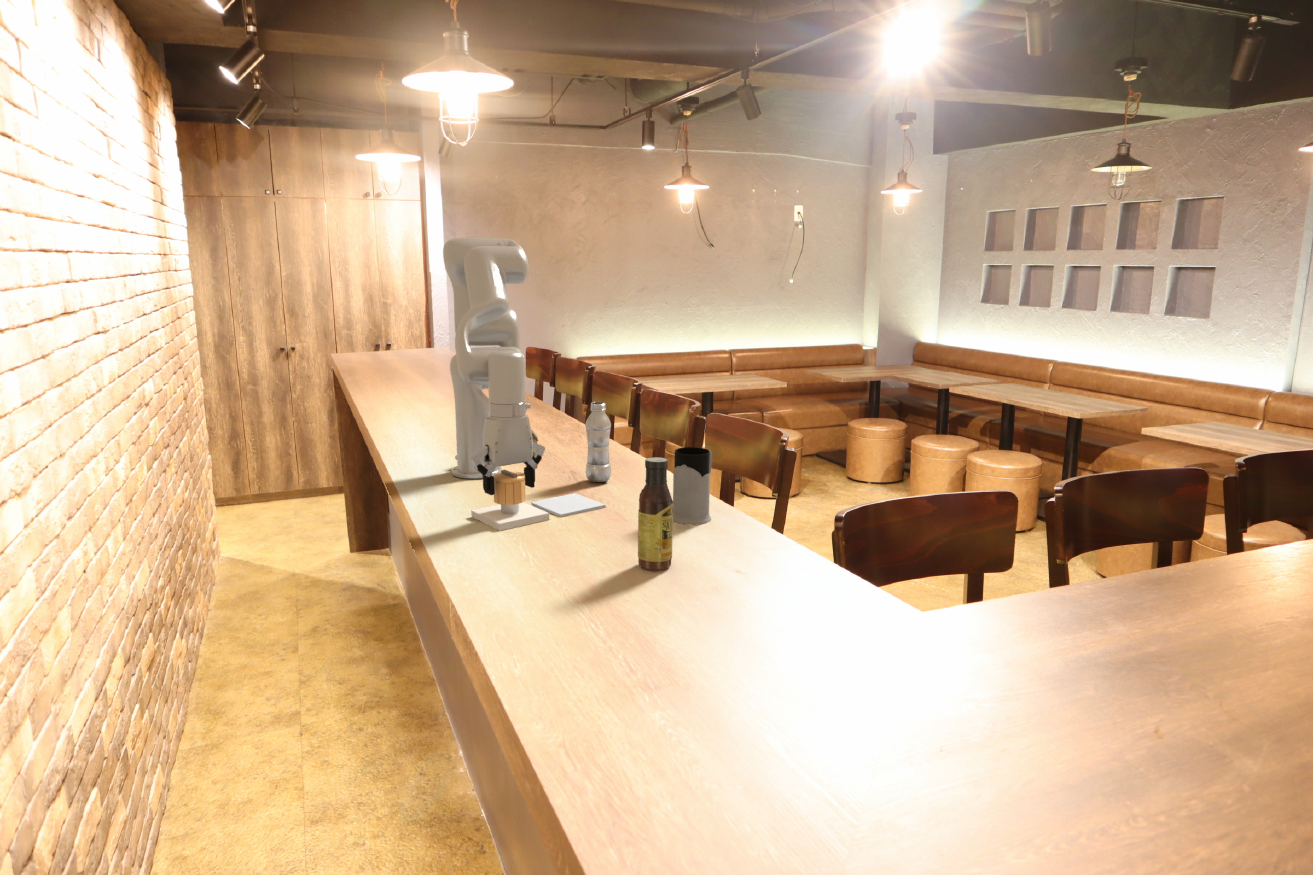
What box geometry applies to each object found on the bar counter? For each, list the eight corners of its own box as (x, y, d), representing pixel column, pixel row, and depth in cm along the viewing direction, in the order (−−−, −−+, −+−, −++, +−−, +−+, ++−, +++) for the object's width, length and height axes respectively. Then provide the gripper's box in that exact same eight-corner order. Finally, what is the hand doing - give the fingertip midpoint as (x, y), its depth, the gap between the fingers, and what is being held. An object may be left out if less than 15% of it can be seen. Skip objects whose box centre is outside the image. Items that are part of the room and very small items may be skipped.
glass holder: (663, 520, 177) (664, 452, 174) (691, 504, 189) (693, 440, 186) (700, 527, 173) (702, 457, 170) (727, 510, 185) (729, 444, 182)
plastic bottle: (613, 478, 211) (613, 401, 207) (609, 485, 204) (609, 405, 200) (588, 477, 212) (587, 400, 208) (583, 484, 205) (582, 405, 201)
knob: (488, 499, 177) (487, 471, 176) (515, 494, 181) (514, 466, 180) (504, 506, 172) (503, 477, 171) (531, 501, 176) (530, 472, 175)
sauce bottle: (668, 573, 147) (670, 465, 143) (634, 570, 148) (634, 462, 144) (675, 561, 153) (676, 456, 149) (642, 558, 154) (643, 454, 150)
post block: (471, 516, 178) (470, 478, 176) (519, 506, 186) (519, 470, 184) (499, 530, 169) (498, 490, 167) (549, 519, 177) (548, 481, 175)
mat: (531, 504, 188) (531, 502, 187) (575, 495, 195) (574, 493, 195) (560, 517, 179) (560, 514, 179) (605, 507, 186) (605, 504, 186)
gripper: (533, 404, 181) (535, 480, 184) (461, 412, 170) (464, 493, 173) (552, 408, 175) (553, 487, 178) (478, 417, 164) (481, 500, 167)
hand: (509, 490), depth 176 cm, fingers open, 9 cm apart
